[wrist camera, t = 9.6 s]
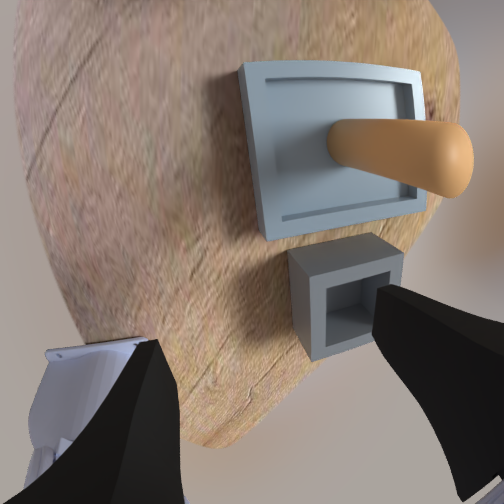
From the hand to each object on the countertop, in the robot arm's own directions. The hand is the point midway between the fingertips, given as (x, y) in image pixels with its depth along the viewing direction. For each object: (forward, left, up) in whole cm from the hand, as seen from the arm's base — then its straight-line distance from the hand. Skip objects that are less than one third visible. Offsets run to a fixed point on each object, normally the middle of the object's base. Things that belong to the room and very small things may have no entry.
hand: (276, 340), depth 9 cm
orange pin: (+8, +5, -9) cm, 13 cm away
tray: (+8, +5, -10) cm, 14 cm away
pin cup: (+7, -5, -10) cm, 13 cm away
